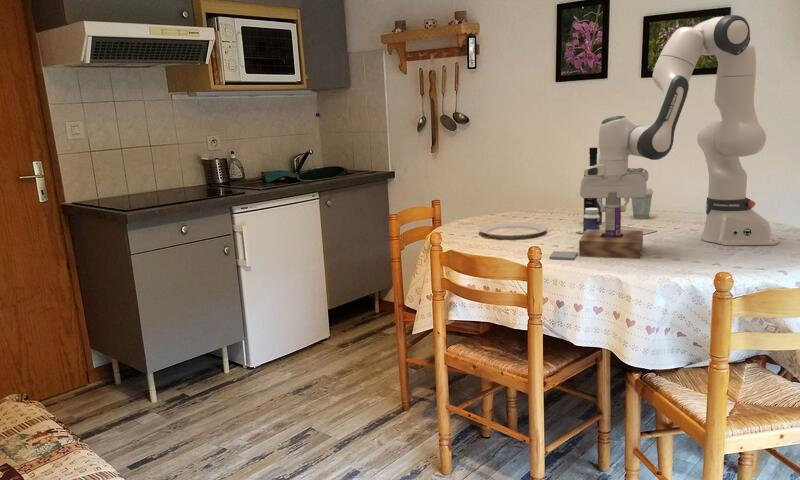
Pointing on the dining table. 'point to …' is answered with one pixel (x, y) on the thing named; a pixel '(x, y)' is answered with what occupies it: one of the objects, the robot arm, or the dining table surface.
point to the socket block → (611, 244)
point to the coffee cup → (642, 205)
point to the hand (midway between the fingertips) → (613, 211)
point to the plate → (528, 225)
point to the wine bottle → (593, 201)
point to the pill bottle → (591, 219)
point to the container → (613, 216)
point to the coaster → (563, 255)
